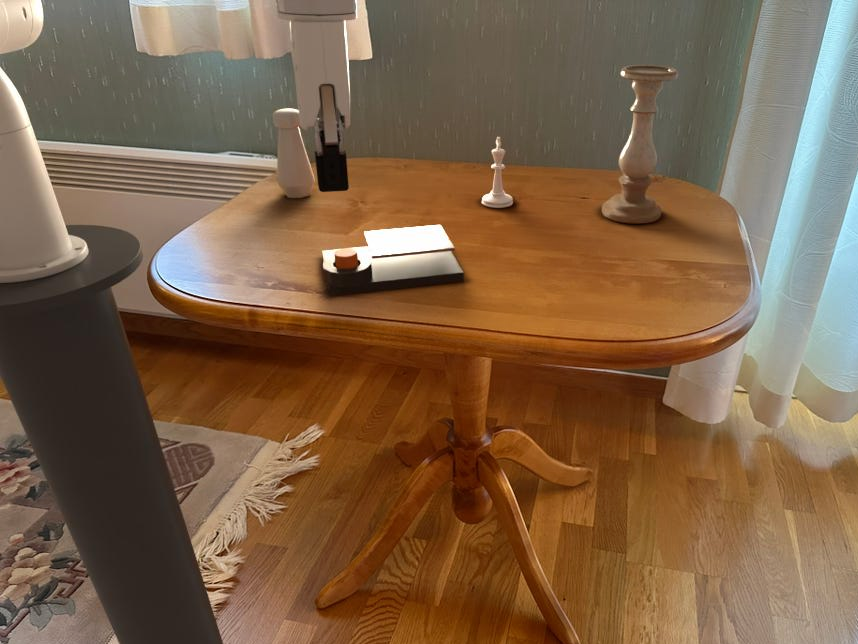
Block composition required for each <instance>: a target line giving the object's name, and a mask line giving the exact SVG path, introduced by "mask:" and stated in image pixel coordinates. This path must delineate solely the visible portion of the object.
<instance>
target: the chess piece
mask: <svg viewBox="0 0 858 644" xmlns="http://www.w3.org/2000/svg"><path fill="white" fill-rule="evenodd" d="M495 144H496V147H495V148H493V149H492V150H491V154H492V157H493V162H494V163H493V164H491V166H490V168H491V169H492V170H494V174H493V182H492V189H491V190H490V192H489V193H486V194H484V195H483V196H482V198H481V204H482V205H483V206H484V207H488V208H494V209H502V208H503V209H504V208H508V207H511V206H512V205H513V203H514V197H512V196H511V195H510V194H508V193H506V191H504V187H503V179H502V178H503V177H502V176H503V175H502V170H505V169H506V166H505V164H503V163H502V162H503V160H504V156H505V154H506V150H505V149H503V148H501V147H502V142H501V136H496V140H495Z"/></svg>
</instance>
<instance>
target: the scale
mask: <svg viewBox="0 0 858 644" xmlns="http://www.w3.org/2000/svg"><path fill="white" fill-rule="evenodd" d="M350 248H351V249H355V250H356V251H357V255H358V267H355V268H353V269H338V268H336V264H335V255H334V253H335V251H337V250H339V249H340V248H337V249H325V250H321V256H322V257H321V258H322V271H323V272H322V273H323V278H324V279H323V280H324V283H325V284H326V286H327V291H328V297H335V296H343V295H344V296H345V295H352V294H363V293H370V292H371V293H372V292H380V291H388V290H399V289H407V288H415V287H416V288H417V287H425V286H433V285H443V284H452V283H460V282H465V272H464V270H463V269H462V267H461V265H460V264H459V262H458V260H457V259H456V257H455V255H454V253H453V251H446V252H436V253H426V254H416V255H407V256H397V257H387V258H377V259H372V257H371V254H370V251H369V248H368V245H367V246H358V247H350Z"/></svg>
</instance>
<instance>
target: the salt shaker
mask: <svg viewBox="0 0 858 644" xmlns="http://www.w3.org/2000/svg"><path fill="white" fill-rule="evenodd" d="M272 121H273V125H274V126H275V127H276V128H278V129H277V160H276V161H277V163H276V182H277V184H278V186H279V187H280V189H281V191H282V193H283V195H284V196H286V197H287V198H289V199H302V198H305V197H309V196H311V192H312V189H313V187H314V184H315V175H314V172H313V168H312V166H311V162H310V159H309V156H308V152H307V150H306V147H305V143H304V140H303V137H302V133H301V129H300V127H301V125H300V119H299V112H298V109H295V108H280V109H277V110H275V111H274V112H273V113H272Z"/></svg>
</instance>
